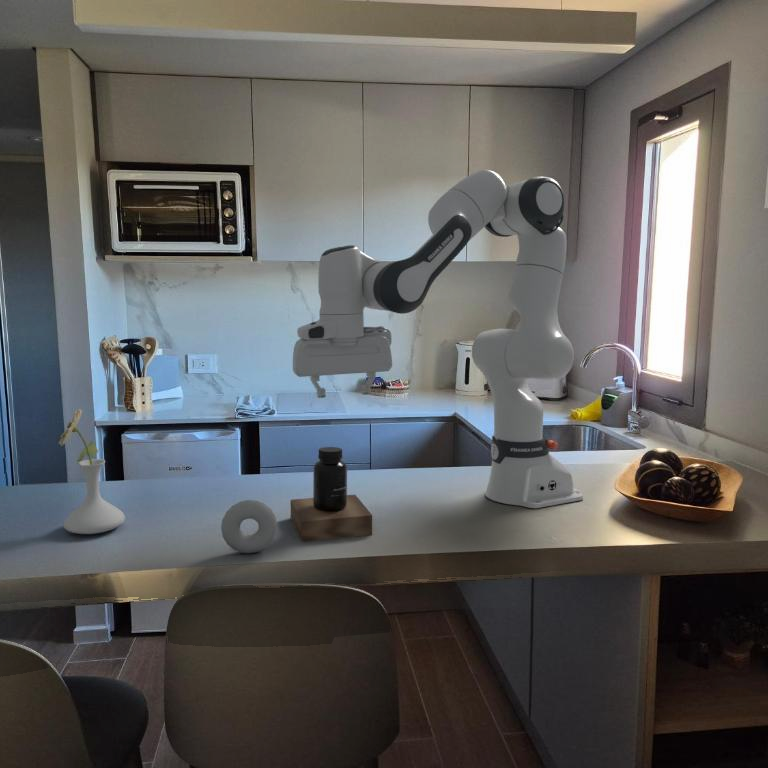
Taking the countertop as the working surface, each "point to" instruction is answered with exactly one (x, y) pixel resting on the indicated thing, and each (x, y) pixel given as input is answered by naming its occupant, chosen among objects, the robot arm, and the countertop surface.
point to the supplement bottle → (330, 480)
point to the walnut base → (330, 520)
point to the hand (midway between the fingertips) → (344, 395)
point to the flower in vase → (90, 492)
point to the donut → (253, 541)
